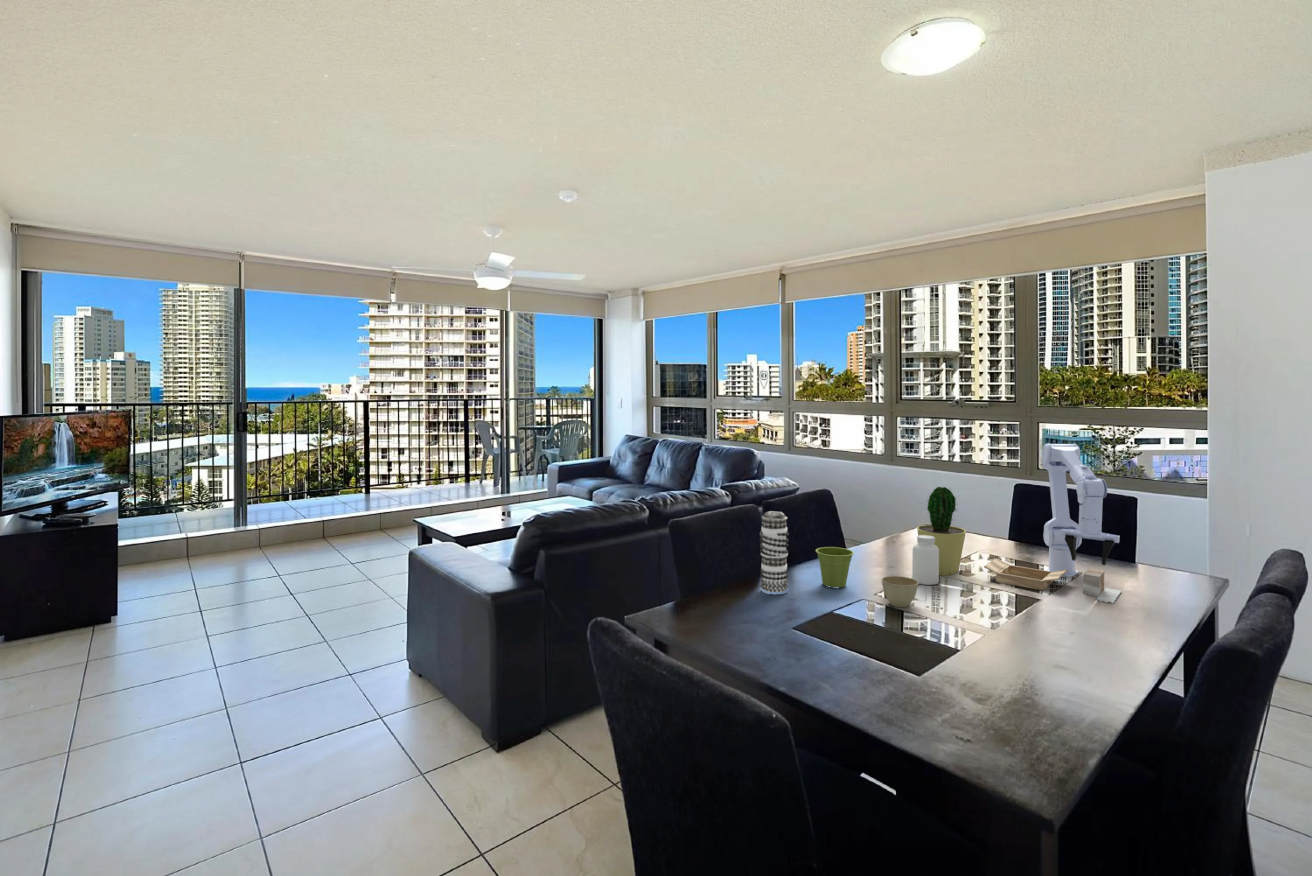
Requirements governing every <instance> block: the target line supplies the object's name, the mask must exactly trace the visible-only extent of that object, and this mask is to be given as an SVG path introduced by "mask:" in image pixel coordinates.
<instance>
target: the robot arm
mask: <svg viewBox="0 0 1312 876" xmlns="http://www.w3.org/2000/svg"><path fill="white" fill-rule="evenodd" d="M1080 457H1081V450H1080V446H1079V445H1078V444H1077V443H1045V444H1044V445H1043V446H1042V450H1041V460H1042V461H1041V463H1042V467H1043V469H1045V470H1046V471H1047V472H1048V480H1049V491H1050V492H1049V493H1050V501H1051V513H1052V518H1051V519H1050V520H1048V521H1046V522H1045V524H1044V526H1043V535H1042V536H1043V541H1044V543H1045V545H1046V546H1047V547H1048V548H1049V549H1048V550H1049V551H1048V569H1047V570H1046V571H1051V572H1054V571H1060V570H1067V569H1068V571H1067V572H1066V573H1065V574H1064V575H1063V576H1066V577H1071V578H1072V577H1074V576H1075V575H1077V574H1078V573H1079V570H1076V559H1077V549H1078V548H1079V547H1080V546H1081V544H1082V540H1083V539H1086V540H1087V539H1088V540H1096V541H1103V542H1102V557H1101V558H1102V560H1101V565H1102V566H1106V564H1107V560H1108V556H1109V554H1110V552H1111V550H1112V549H1113V547H1114V546H1115V544H1119V543H1120V537H1121V536H1120V535H1117V534H1111V533H1106V532H1102V529H1103V527H1102V522H1103V502H1104V500H1103V499H1105V498H1106V497H1107V495H1108V494H1107V493H1108V485H1107V483H1106V480H1105V479H1104V478H1099V477H1096V475H1095V473H1094V472H1093V471H1092V470H1091V468H1090V467H1089V466H1087V465H1085V464H1083V462H1082V460H1081V459H1080ZM1069 470H1070V471H1069ZM1067 471H1069V476H1070V478H1071V479H1072V481H1073V482H1074V484H1075V485H1076V494H1077V502H1078V503H1079V508H1078V509H1079V510H1078V511H1079V512H1078V523H1077V522H1076V521H1074V520H1072V519H1071V515H1070V506H1069V497H1068V485H1067V476H1066V473H1067Z"/></svg>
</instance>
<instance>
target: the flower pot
mask: <svg viewBox="0 0 1312 876" xmlns="http://www.w3.org/2000/svg"><path fill="white" fill-rule="evenodd" d="M881 585H882V588H883V592H884V595H885V597H886V599H887V601H888V602H889V604H890V605H891V606H892V607H897V608H907V607H909V606H910V605H911V603H913V600H914V598H915V597H916V594H917V592H918V589H919V584H918V581H916V580H915V579H912V577H907V576H901V575H889V576H888V575H887V576H884V577H882V578H881Z"/></svg>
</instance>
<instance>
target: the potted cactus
mask: <svg viewBox="0 0 1312 876" xmlns="http://www.w3.org/2000/svg"><path fill="white" fill-rule="evenodd" d="M927 497H928V499H927V507H926V508H927V509H926V510H927V511H928V512H927V513H926V514H927V515H929V520H930V521H929V522H930V524H922V525H919V526H916V529H917V536H919V535H927V536H933V537H935V542H934V543H935V544H934V545H936V546H937V547H938V549H939V576H941V575H942V576H943V577H944V576H945V577H950V576H952V575H954V574H958V573H959V571H960V565H961V560H962V555H963V550H964V545H965V539H966V538H965V537H966V532H967V531H966V529H964V528H961V527H957V526H953V525H952V520H953V521H954V520H955V519H953V517H954V516H955V517H956V515H954V513H955V512H957V511H958V509H957V503H956V502H957V500H958V497H956V496H955V495H954V491H953V492H952V490H951V489H950V488H947V487H946V486H938V487H937V486H935V488H934V489H933V491H931V493H930V495H928V496H927Z"/></svg>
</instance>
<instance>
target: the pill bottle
mask: <svg viewBox="0 0 1312 876" xmlns="http://www.w3.org/2000/svg"><path fill="white" fill-rule="evenodd" d="M934 542H935V537H933V536H927V535H919V536H918V535H917V536H916V543H915V544H914V545H913V546H912V549H911V550H912V552H911V553H912V554H911V555H912V559H911V560H912V561H911V564H912V565H911V568H912V569H911V570H912V571H911V572H912V573H911V578H912V579H915V580H916V581H918V585H925V586H933V585H937V584H939V579H940V577H939V576H940V575H939V549H938V547H937V546H936V545H934V544H935V543H934Z"/></svg>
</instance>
